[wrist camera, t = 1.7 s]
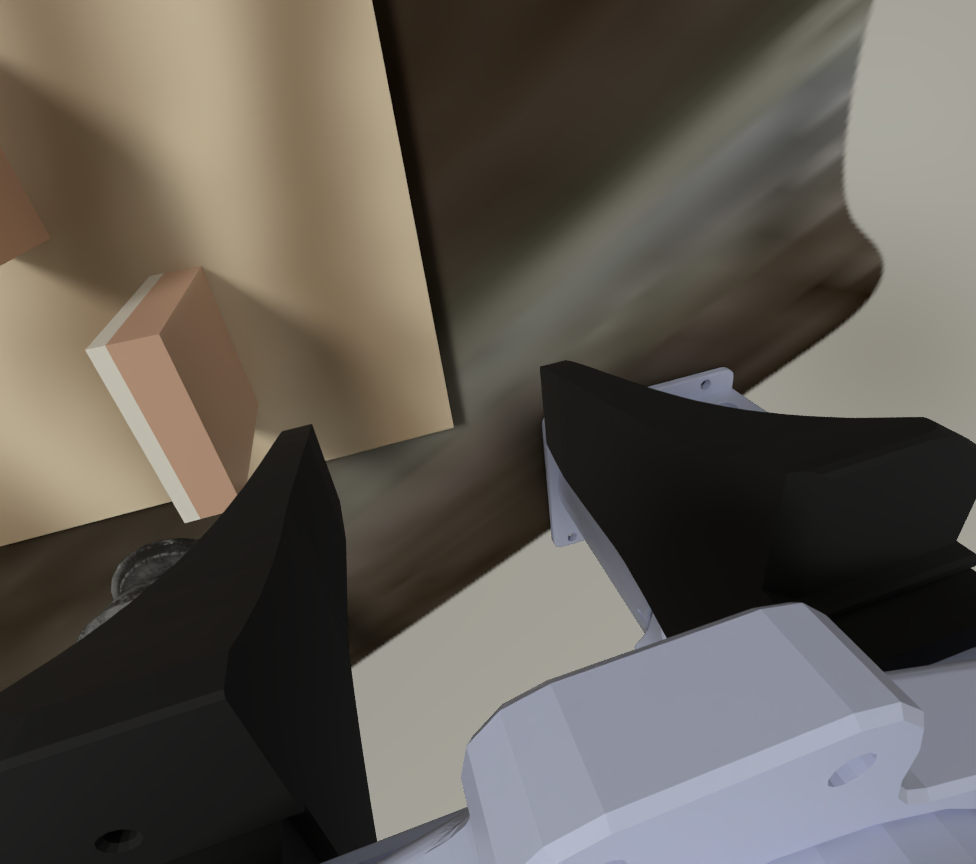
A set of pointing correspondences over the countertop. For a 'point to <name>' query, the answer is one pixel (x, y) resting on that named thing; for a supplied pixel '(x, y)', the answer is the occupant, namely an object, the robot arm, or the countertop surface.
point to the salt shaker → (140, 575)
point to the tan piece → (16, 216)
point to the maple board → (204, 232)
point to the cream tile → (181, 390)
